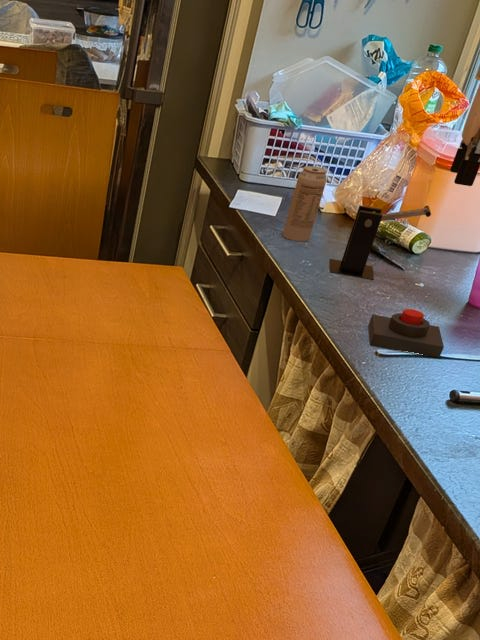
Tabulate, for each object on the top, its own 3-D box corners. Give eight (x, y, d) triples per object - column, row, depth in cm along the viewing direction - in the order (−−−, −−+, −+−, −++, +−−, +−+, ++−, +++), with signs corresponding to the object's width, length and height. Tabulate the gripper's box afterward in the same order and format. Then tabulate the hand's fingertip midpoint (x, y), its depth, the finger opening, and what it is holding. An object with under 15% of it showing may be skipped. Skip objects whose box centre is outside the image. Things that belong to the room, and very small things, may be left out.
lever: (428, 213, 186) (429, 201, 185) (430, 220, 183) (431, 207, 181) (360, 223, 191) (360, 211, 189) (360, 230, 187) (360, 217, 186)
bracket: (370, 271, 197) (392, 208, 189) (372, 285, 191) (394, 220, 182) (328, 264, 199) (347, 200, 190) (327, 277, 192) (348, 212, 184)
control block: (434, 338, 171) (443, 316, 168) (439, 358, 163) (448, 336, 161) (368, 325, 173) (375, 304, 170) (369, 345, 165) (377, 323, 162)
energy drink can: (307, 239, 211) (328, 168, 201) (308, 247, 207) (329, 174, 197) (281, 235, 212) (300, 163, 202) (281, 243, 207) (301, 170, 198)
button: (419, 320, 167) (423, 311, 166) (421, 327, 164) (425, 318, 163) (399, 317, 167) (402, 307, 166) (400, 324, 165) (404, 314, 163)
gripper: (530, 82, 154) (486, 193, 165) (516, 68, 167) (477, 171, 178) (483, 76, 155) (442, 186, 166) (473, 62, 168) (436, 165, 179)
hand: (460, 178), depth 172 cm, fingers open, 9 cm apart
